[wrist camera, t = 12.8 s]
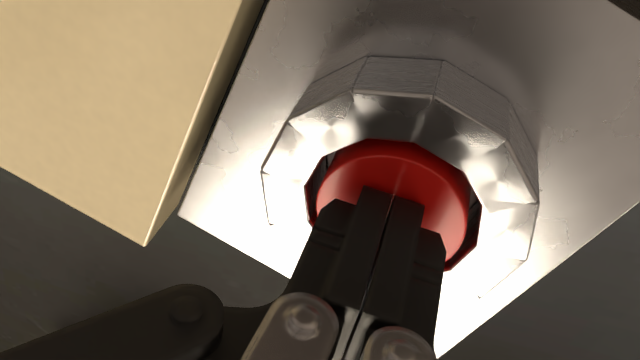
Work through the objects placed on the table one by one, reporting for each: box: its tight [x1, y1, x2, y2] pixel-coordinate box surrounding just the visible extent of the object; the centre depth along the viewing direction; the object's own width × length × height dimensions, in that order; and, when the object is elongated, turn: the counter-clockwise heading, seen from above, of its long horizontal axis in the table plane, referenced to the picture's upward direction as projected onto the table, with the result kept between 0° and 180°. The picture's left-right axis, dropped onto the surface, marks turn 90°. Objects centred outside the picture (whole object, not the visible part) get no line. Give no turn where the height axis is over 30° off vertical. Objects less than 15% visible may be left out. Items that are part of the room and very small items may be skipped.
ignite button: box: [316, 138, 471, 262], centre depth 14 cm, size 4×4×2 cm
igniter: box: [177, 0, 640, 359], centre depth 15 cm, size 12×10×4 cm
